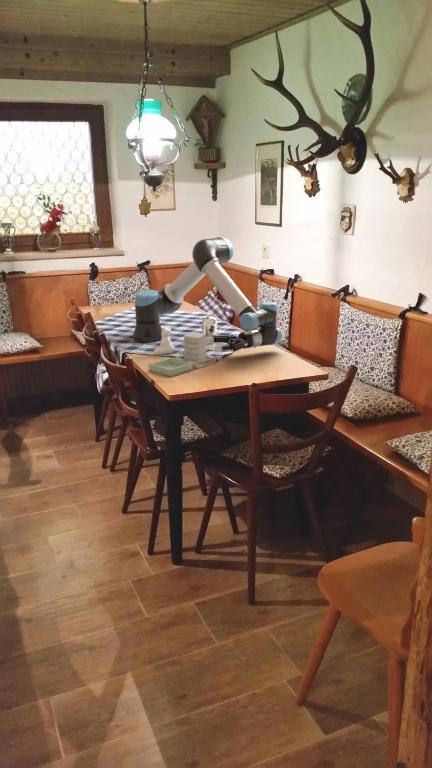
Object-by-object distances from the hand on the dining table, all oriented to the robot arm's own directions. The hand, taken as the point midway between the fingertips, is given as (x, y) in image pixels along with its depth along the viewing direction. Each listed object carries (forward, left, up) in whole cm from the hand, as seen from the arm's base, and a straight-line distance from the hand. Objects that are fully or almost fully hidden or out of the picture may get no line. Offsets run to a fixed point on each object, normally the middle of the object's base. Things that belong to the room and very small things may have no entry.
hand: (207, 345), depth 257 cm
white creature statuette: (-24, -2, -8) cm, 26 cm away
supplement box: (-2, -5, -8) cm, 9 cm away
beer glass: (-13, +16, -8) cm, 22 cm away
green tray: (-2, -19, -7) cm, 21 cm away
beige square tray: (-2, -5, -7) cm, 9 cm away
